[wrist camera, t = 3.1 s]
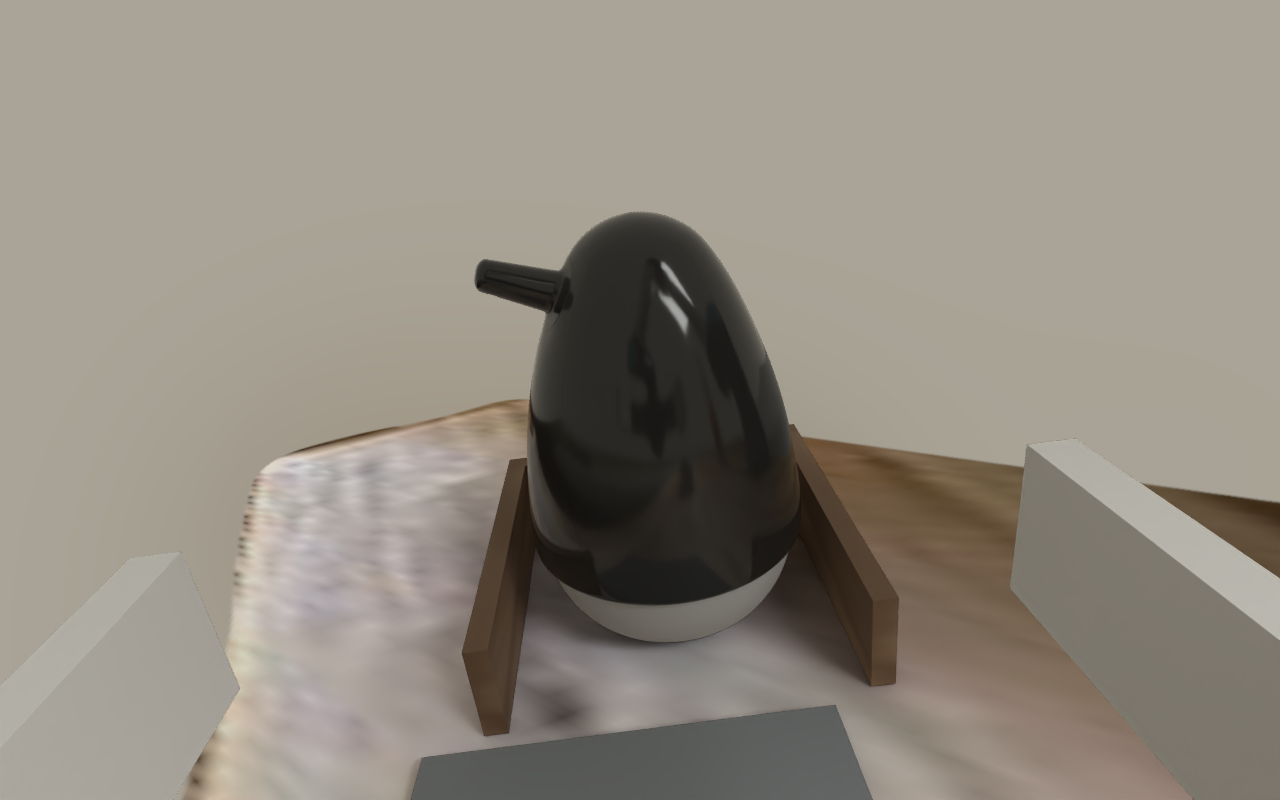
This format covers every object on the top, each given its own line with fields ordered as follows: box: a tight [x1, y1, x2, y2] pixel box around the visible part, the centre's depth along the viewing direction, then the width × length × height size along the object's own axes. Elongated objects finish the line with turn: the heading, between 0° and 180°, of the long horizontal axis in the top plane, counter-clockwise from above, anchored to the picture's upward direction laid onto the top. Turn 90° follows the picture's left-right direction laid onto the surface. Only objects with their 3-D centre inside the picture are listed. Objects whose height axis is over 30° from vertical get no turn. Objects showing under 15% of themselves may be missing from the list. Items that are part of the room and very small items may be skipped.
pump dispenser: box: [474, 212, 801, 642], centre depth 26 cm, size 10×10×15 cm
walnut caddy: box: [462, 424, 899, 736], centre depth 28 cm, size 14×13×4 cm
